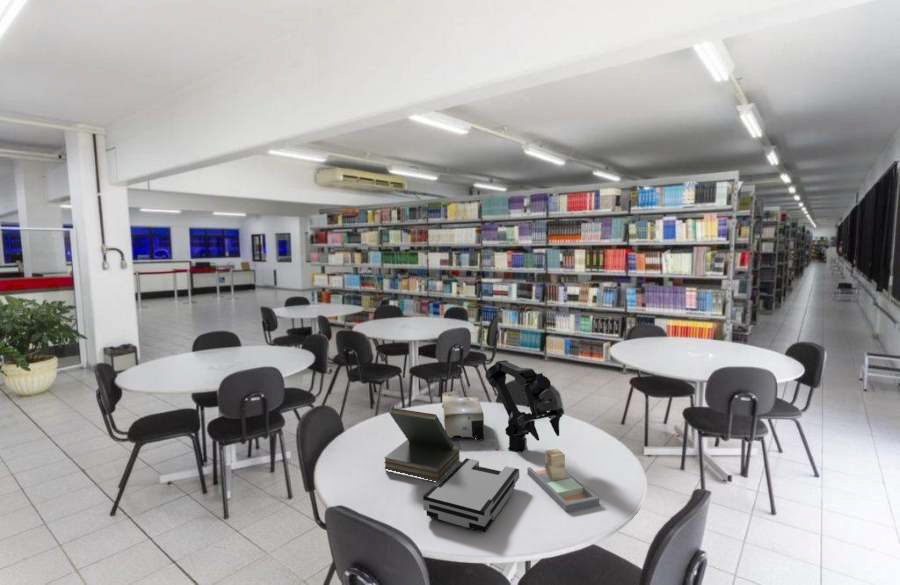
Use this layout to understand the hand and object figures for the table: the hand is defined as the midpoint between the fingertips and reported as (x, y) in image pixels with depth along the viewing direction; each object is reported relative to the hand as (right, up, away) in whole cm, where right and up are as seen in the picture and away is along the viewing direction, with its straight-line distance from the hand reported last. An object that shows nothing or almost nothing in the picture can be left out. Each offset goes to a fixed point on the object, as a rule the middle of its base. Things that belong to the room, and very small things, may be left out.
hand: (548, 438), depth 176 cm
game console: (-29, -16, -20) cm, 39 cm away
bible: (-48, -14, +6) cm, 50 cm away
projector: (-33, -10, +43) cm, 56 cm away
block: (0, -11, -9) cm, 14 cm away
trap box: (+2, -14, -12) cm, 19 cm away
